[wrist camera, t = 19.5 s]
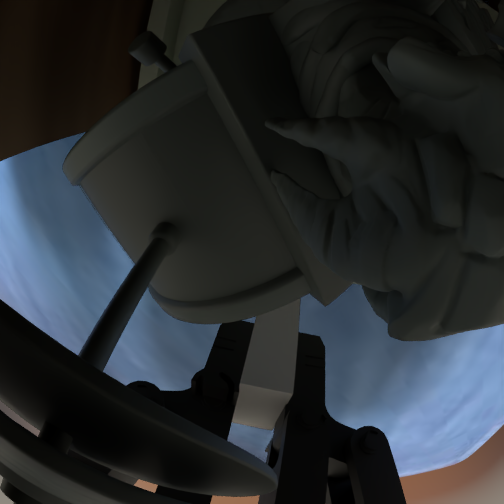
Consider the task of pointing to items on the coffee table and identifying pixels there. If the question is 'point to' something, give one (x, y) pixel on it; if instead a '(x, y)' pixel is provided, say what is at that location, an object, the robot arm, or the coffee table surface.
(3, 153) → the shelf
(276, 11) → the figurine
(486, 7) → the tray
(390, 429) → the coffee table surface
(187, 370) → the coffee table surface
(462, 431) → the coffee table surface
